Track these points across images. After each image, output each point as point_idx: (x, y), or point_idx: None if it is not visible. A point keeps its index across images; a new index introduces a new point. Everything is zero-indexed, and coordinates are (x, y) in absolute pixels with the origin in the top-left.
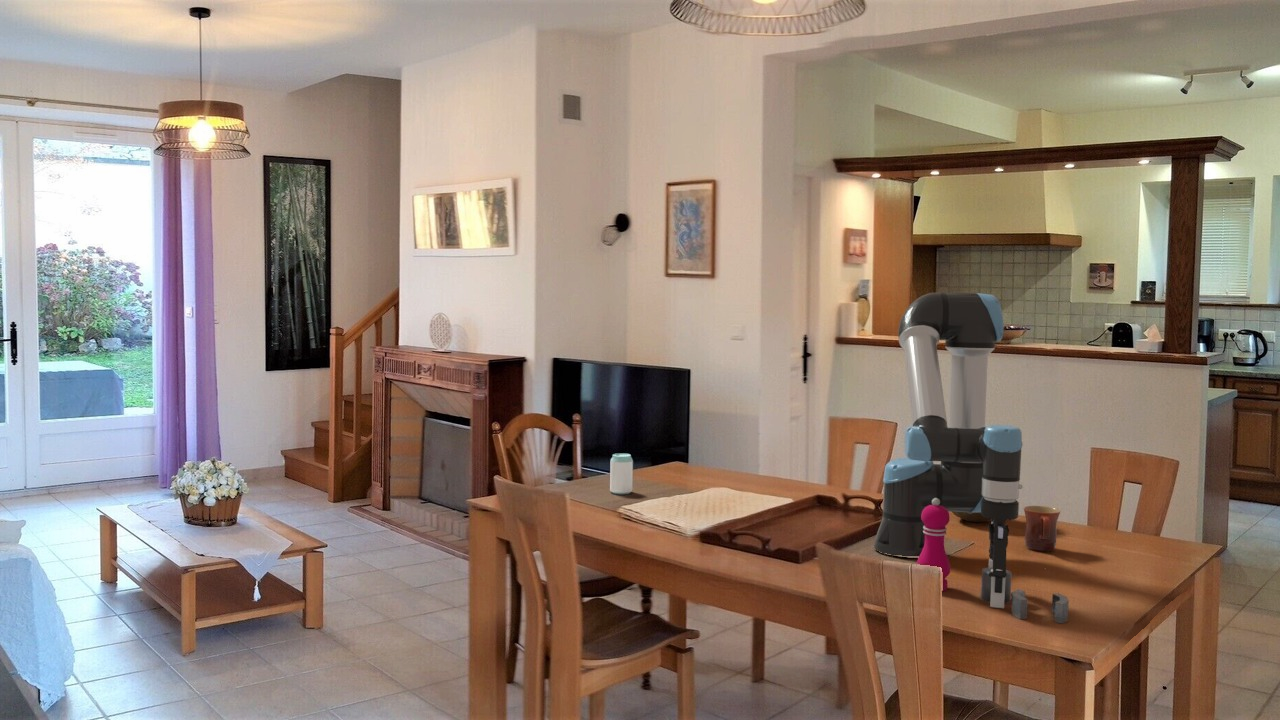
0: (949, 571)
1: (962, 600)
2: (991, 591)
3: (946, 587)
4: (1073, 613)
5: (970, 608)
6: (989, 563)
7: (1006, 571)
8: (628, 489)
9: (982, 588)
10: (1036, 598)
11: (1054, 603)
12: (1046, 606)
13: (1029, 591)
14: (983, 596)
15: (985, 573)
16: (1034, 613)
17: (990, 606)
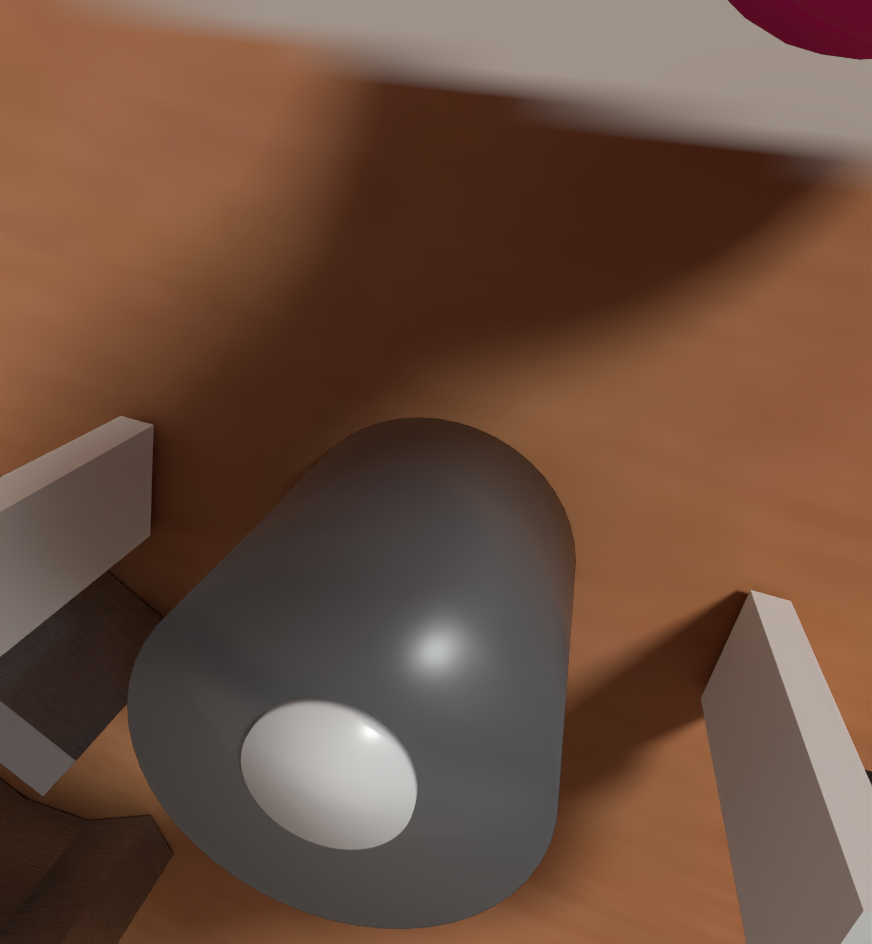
0: (817, 8)
1: (312, 174)
2: (5, 481)
3: (760, 20)
4: (186, 924)
5: (51, 200)
6: (835, 858)
7: (368, 887)
8: None
9: (361, 462)
10: None
11: (76, 887)
12: None
13: (709, 912)
14: (361, 437)
15: (214, 581)
16: None
17: (116, 418)
